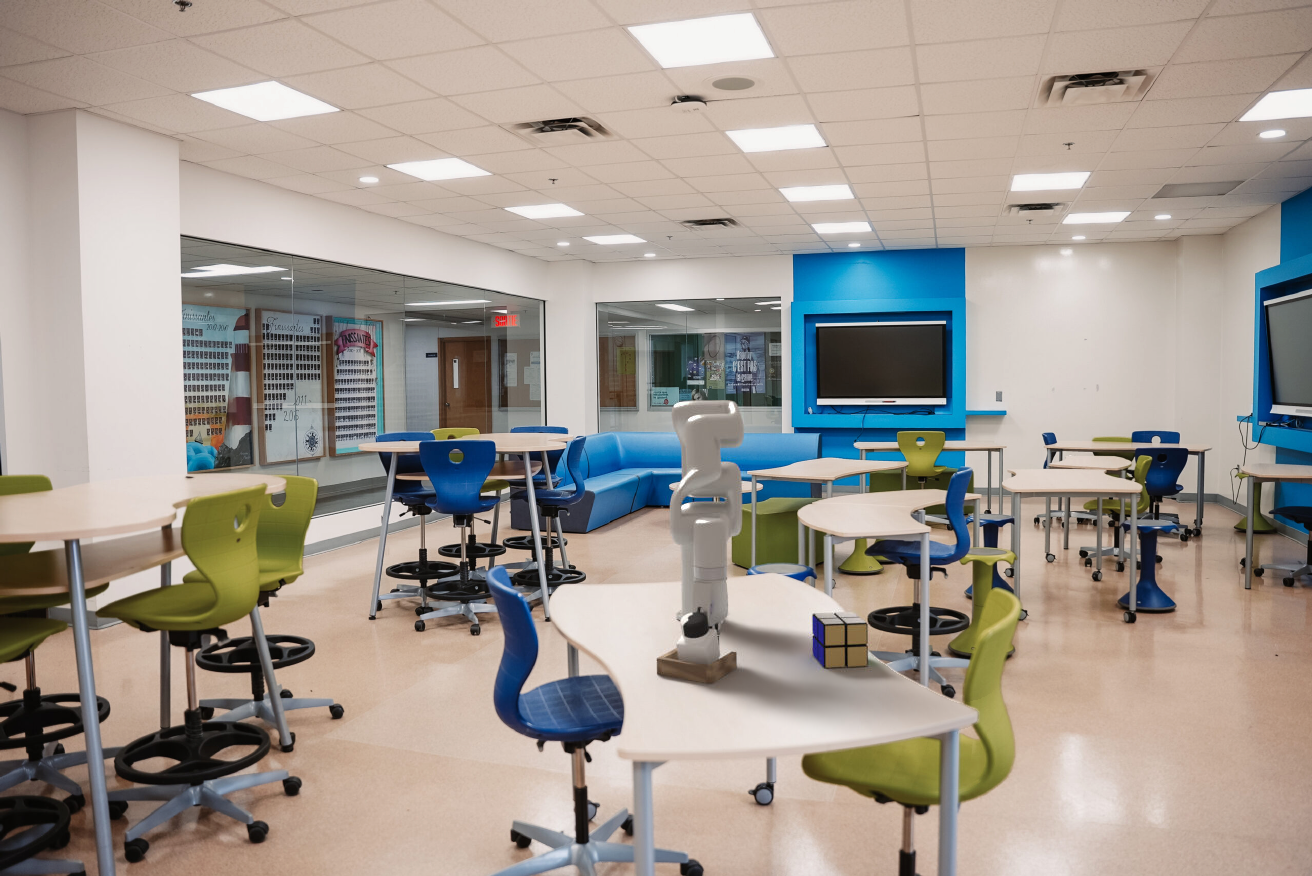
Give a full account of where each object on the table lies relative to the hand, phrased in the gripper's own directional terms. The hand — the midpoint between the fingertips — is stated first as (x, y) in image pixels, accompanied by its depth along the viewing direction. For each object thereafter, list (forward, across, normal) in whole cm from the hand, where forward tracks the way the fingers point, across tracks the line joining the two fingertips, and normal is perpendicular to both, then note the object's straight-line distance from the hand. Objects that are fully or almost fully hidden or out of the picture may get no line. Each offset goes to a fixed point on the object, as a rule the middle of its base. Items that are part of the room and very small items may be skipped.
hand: (711, 652), depth 198 cm
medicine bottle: (+1, +4, 0) cm, 5 cm away
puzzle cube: (+3, -15, +25) cm, 29 cm away
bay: (+2, +6, 0) cm, 6 cm away
